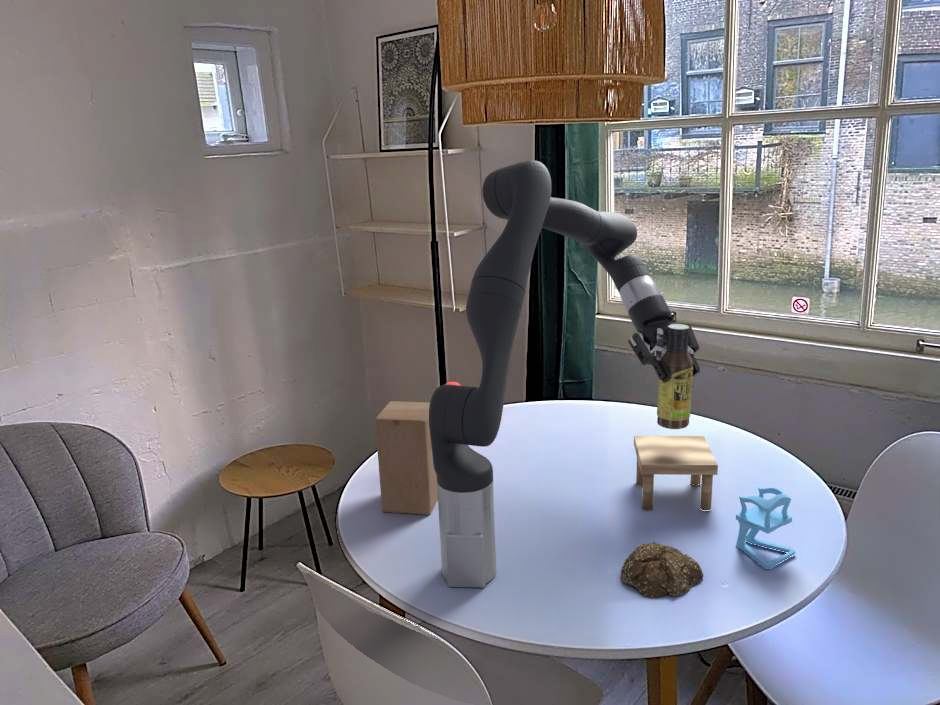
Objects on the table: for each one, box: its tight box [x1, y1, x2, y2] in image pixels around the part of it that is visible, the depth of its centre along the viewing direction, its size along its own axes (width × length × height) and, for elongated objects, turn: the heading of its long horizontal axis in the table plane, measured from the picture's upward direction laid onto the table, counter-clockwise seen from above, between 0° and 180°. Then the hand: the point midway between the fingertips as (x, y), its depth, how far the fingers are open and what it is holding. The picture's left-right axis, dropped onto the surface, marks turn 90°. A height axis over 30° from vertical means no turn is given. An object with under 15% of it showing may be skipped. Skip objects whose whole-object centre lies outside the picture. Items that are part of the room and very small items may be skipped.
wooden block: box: [374, 400, 438, 516], centre depth 155 cm, size 10×10×20 cm
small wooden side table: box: [633, 435, 719, 512], centre depth 155 cm, size 14×14×10 cm
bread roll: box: [620, 541, 704, 599], centre depth 129 cm, size 13×12×5 cm
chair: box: [735, 486, 796, 570], centre depth 133 cm, size 8×8×12 cm
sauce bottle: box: [656, 323, 694, 430], centre depth 149 cm, size 6×6×20 cm
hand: (681, 377), depth 147 cm, fingers closed on sauce bottle, 6 cm apart
